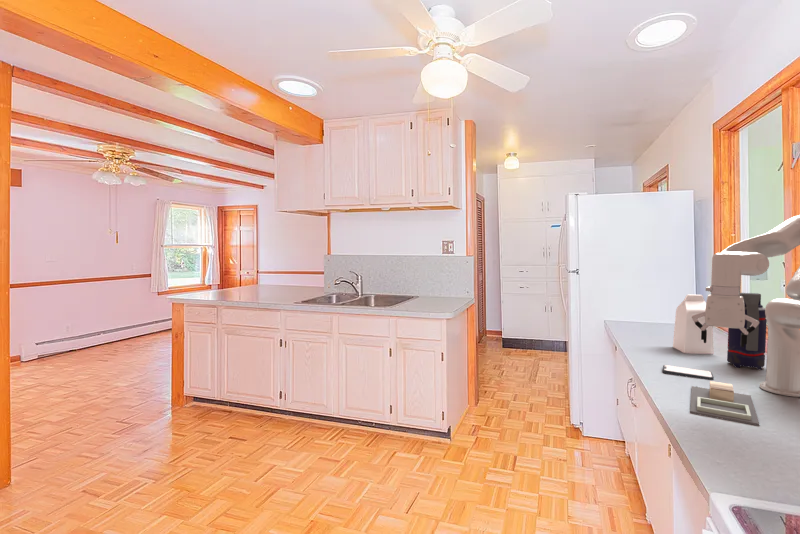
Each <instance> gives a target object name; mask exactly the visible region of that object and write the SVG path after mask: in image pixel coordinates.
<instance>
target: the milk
mask: <svg viewBox="0 0 800 534" xmlns="http://www.w3.org/2000/svg"><path fill="white" fill-rule="evenodd" d="M705 308H706V300H705V299H704V296H703V294H686V296H685V298H684V300H683V301H682V302H681V303H679V304H678V306H677V307H676V309H675V317H674V330H673V341H672V348H673V349H675V350H678V351H679V352H682V353H683V354H696V355H697V354H701V355H714V354H715V353H714V347H715V346H714V326H709V327H708V328H706V330H707V338H706V343H704V340H701V329H700V328H699V327H698V326H696V325H695V323H694V321H693V319H692V316H693V315H696V314H699V313H702V312H705ZM698 321H699V322H700V323H701V324H702V325H703V324H704V323H705V316H703V317H700V318H698Z"/></svg>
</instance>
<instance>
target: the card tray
mask: <svg viewBox="0 0 800 534" xmlns="http://www.w3.org/2000/svg"><path fill="white" fill-rule="evenodd" d="M701 402H706V403H711V404H717V405H723V406H729V407H734V408H740V409H745V412H746V414H742V413H736V412H731V411H725V410H720V409H714V408H708V407H703V406H700V404H701ZM697 410H698V411H704V412H709V413H715V414H720V415H726V416H731V417H737V418H742V419H747V420H751V413H750V410H749V406H748V405H744V404H738V403H732V402H726V401H721V400H715V399H709V398H703V397H697Z"/></svg>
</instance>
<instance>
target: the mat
mask: <svg viewBox="0 0 800 534" xmlns="http://www.w3.org/2000/svg"><path fill="white" fill-rule="evenodd" d="M697 397H703V398H709V399H710V388H706V387H698V386H693V385H692V386H691V394H690V408H689V412H690V414H695V415H699V414H701V415H700V416H704V415H706V417H710V416H712V417H711V418H715V417H718V418H717V419H720V418H723V419H722V420H726V419H728V420H727V421H731V420H732V422H736V421H737V422H738V423H742V424H746V425H747V424H748V425H753V426H758V427H759V426H760V421H759V418H758V415H757V412H756V411H757V410H756V408H755V405H754V401H753V399H752V395H750V394H744V393H739V392H738V393H737V392H734V403H738V404H744V405H748V406H749V410H750V413H751V420H747V419H742V418H737V417H731V416H726V415H720V414H715V413H709V412H704V411H698V410H697ZM700 406H703V407H708V408H714V409H720V410H725V411H731V412H736V413H742V414H746V412H745V409H740V408H734V407H729V406H723V405H717V404H711V403H706V402H701V404H700Z"/></svg>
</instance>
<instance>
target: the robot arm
mask: <svg viewBox="0 0 800 534" xmlns="http://www.w3.org/2000/svg"><path fill="white" fill-rule="evenodd" d="M798 246H799V247H800V215H794V216H792V217H790V218H788V219H786V220H785V221H784V222H782V223H780V224H778V225H777V226H775V227H774V228H773V229H771V230H769V231H768V232H766V233H763V234H759V235H756V236H754V237H750V238H746V239H744V240H741V241H738V242H735V243H733V244H731V245H729V246H727V247H726V248H725V249H723V250H722V251H721V252H717V253H715V254H713V255H712V258H711V276H710V277H711V281H710V283H711V285H709V286H706V287H705V292H709V293H710V294H708V295H707V298H706V300H705V302H706V308H705V312H702V313H699V314H696V315H693V316H692V319H693V321H694V323H695V325H696V326H698V327H699V328H700V329H701V340H704V343H706V338H707V330H706V328H708V327H709V326H713V328H725V329H728V328H737V329H738V328H739V329H740V330H741V331H742V333H741V342H740V345H741V347H744V344H747V335H748V334H749V333H750V332H752V331H753V330H755V328H756V327H757V326H758V324H759V321H758V320H755V319H753V318H751V317H749V316H747V315H745V305H744V299H743V297H742V296H740V293H741V283H742V282H741V281H742V276H751V277H752V276H753V277H755V276H760V275H763V274H764V273H765V272H766V271H768V269H769V267H770V261H769V260H770V259H769V258H774V257H779V256H784V255H786V254H788V253H790V252H791V251H792V250H794V249H796V248H797V247H798ZM786 285H787V286H786V287H785V293H786V295H787V296H788V297H789V298H786V297H785V298H783V297H780V298H775V299H772V300H770V301H768V303H767V304H766V305H765V307H764V308H765V315H766V320H767V326H766V327H767V343H766V345H767V347H766V369H765V381H761V382H760V383H759V388H761V390H764V391H766V392H769V393H772V394H776V395H781V396H786V397H794V398H800V266H799V267H798V268H797V269H796V271H795V273H794V274H793V275H792V276H791V279H790V280H789V282H788V283H787V284H786ZM703 316H705V323H704V324H703V325H702V324H701V323H700V322H699V321H698V318H700V317H703ZM745 319H746V320H748V321H750V322H752V324H751V326H750V327H748V328H747V329H746V328H745V327H744V325H745Z"/></svg>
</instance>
